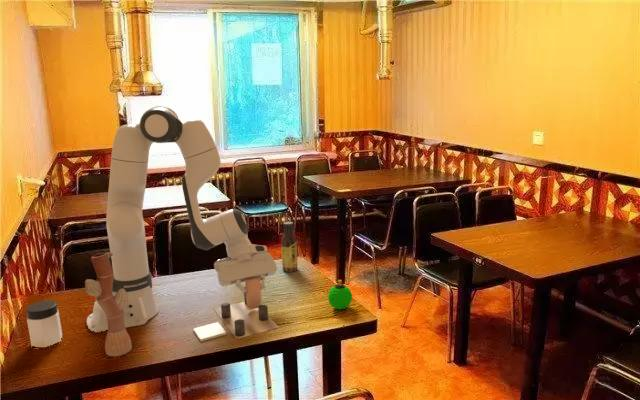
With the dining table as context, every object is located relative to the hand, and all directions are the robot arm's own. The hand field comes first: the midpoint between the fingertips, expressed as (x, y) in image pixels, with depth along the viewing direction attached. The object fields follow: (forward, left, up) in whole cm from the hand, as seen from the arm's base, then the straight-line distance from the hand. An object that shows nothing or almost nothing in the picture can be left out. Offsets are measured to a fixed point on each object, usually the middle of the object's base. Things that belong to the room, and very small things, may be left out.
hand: (254, 291), depth 170 cm
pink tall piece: (-45, -1, -8) cm, 45 cm away
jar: (-62, +16, -8) cm, 64 cm away
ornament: (+25, -13, -8) cm, 30 cm away
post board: (-5, -2, -8) cm, 10 cm away
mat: (-18, -6, -7) cm, 20 cm away
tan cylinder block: (0, +1, -5) cm, 5 cm away
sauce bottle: (+27, +29, -8) cm, 40 cm away
